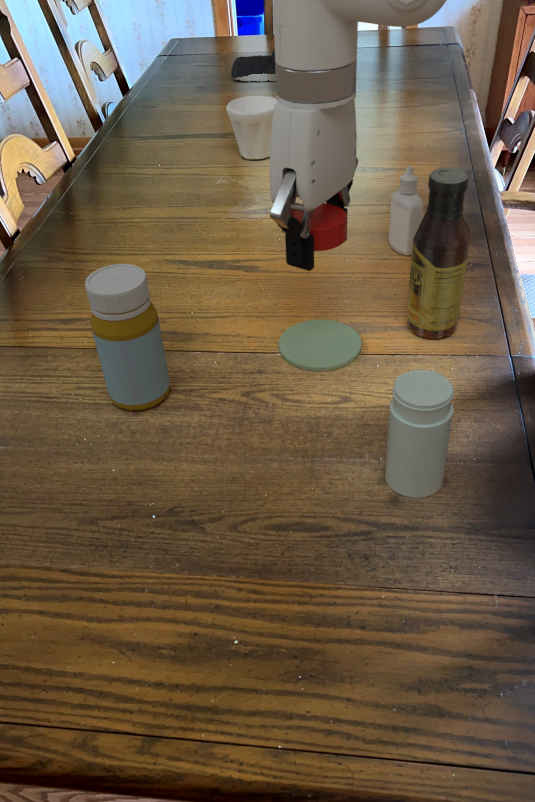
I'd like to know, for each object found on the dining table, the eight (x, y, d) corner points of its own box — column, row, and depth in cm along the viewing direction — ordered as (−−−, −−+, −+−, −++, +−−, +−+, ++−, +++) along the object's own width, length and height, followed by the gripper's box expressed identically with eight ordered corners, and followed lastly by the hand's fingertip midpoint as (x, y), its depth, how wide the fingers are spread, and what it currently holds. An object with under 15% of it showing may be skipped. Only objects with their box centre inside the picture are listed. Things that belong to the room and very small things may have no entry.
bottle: (173, 408, 79) (151, 291, 70) (109, 418, 79) (79, 301, 69) (169, 371, 85) (148, 257, 75) (110, 379, 84) (81, 266, 74)
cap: (357, 231, 78) (357, 210, 76) (326, 256, 74) (326, 235, 72) (308, 219, 81) (307, 198, 79) (276, 242, 77) (275, 221, 75)
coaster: (376, 337, 87) (376, 333, 87) (335, 381, 81) (335, 377, 81) (306, 315, 92) (306, 311, 92) (262, 355, 86) (262, 351, 86)
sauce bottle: (407, 312, 91) (419, 159, 78) (457, 315, 90) (478, 160, 77) (404, 341, 86) (416, 183, 74) (457, 345, 85) (479, 185, 72)
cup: (242, 169, 130) (238, 117, 124) (222, 151, 137) (217, 101, 131) (292, 157, 133) (290, 106, 127) (270, 141, 140) (267, 91, 134)
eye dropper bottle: (389, 257, 102) (393, 175, 95) (388, 238, 106) (392, 159, 99) (420, 257, 102) (427, 175, 94) (418, 238, 106) (424, 159, 98)
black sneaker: (235, 65, 182) (233, 45, 179) (321, 61, 180) (321, 40, 177) (229, 83, 170) (227, 62, 167) (322, 79, 168) (321, 57, 165)
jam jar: (452, 469, 70) (466, 379, 63) (428, 506, 66) (440, 415, 59) (400, 449, 72) (408, 360, 65) (374, 483, 69) (379, 394, 62)
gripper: (328, 53, 74) (327, 214, 86) (229, 102, 63) (243, 279, 75) (394, 61, 71) (384, 228, 82) (300, 115, 60) (304, 298, 72)
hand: (317, 251), depth 78 cm, fingers closed on cap, 6 cm apart
